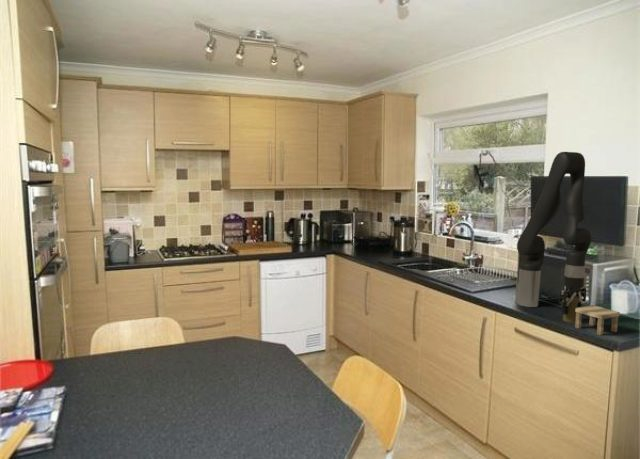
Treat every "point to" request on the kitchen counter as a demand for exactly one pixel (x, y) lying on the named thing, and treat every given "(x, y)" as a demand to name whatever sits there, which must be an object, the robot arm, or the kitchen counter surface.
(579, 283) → the robot arm
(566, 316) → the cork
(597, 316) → the birch stool
